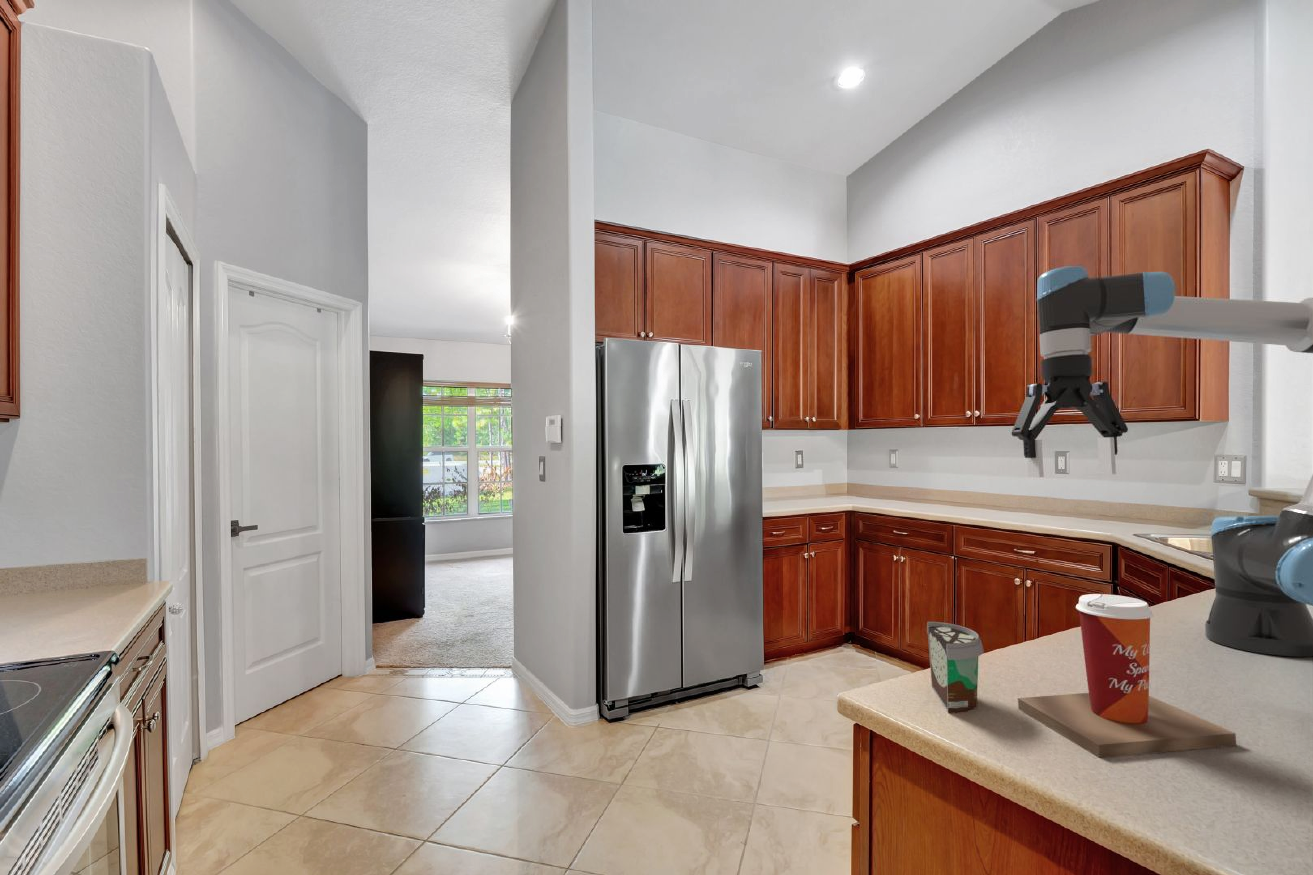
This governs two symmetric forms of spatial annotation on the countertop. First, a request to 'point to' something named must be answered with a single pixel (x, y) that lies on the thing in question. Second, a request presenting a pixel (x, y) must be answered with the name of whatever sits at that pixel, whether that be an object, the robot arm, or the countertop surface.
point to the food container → (954, 665)
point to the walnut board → (1125, 727)
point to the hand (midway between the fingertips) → (1072, 475)
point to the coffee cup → (1116, 655)
